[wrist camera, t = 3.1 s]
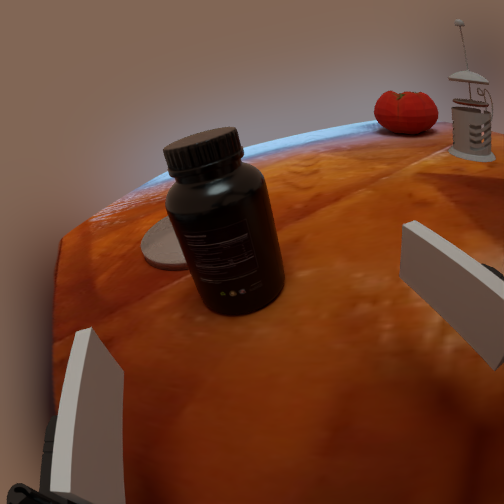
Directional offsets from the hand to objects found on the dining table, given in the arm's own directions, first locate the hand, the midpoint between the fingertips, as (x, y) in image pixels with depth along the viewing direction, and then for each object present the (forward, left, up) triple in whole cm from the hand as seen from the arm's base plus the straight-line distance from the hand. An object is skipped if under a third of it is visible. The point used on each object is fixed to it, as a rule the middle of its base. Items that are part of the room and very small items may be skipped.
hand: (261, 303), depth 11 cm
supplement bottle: (0, -10, -7) cm, 13 cm away
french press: (-47, -24, -7) cm, 54 cm away
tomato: (-48, -46, -7) cm, 67 cm away
